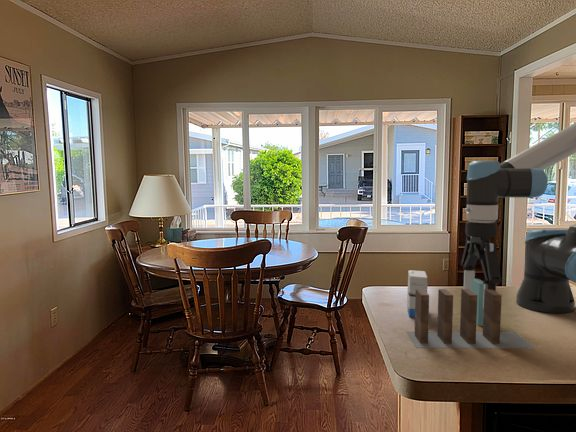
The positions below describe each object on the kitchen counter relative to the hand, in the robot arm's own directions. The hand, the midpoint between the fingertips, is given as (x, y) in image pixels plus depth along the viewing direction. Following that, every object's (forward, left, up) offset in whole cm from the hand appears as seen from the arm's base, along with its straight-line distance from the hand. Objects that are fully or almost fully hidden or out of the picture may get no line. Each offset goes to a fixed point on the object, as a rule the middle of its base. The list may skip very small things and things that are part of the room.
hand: (478, 300), depth 117 cm
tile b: (+1, +12, -6) cm, 13 cm away
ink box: (+14, -8, -7) cm, 17 cm away
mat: (+7, +12, -6) cm, 15 cm away
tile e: (+18, +12, -6) cm, 22 cm away
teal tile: (0, 0, -6) cm, 6 cm away
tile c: (+7, +12, -6) cm, 15 cm away
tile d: (+12, +12, -6) cm, 18 cm away
